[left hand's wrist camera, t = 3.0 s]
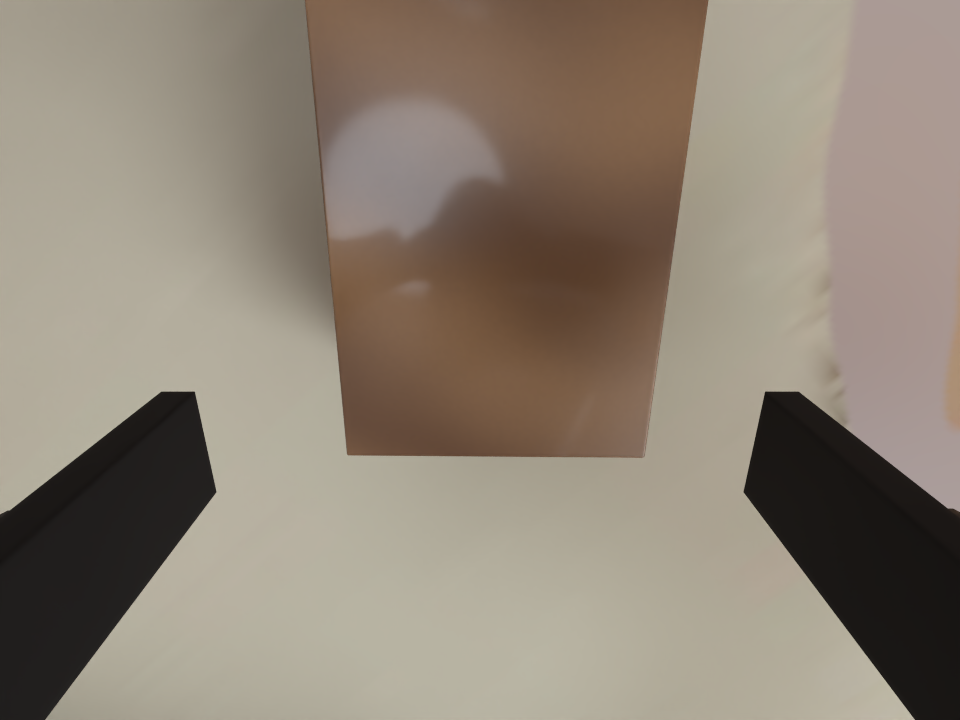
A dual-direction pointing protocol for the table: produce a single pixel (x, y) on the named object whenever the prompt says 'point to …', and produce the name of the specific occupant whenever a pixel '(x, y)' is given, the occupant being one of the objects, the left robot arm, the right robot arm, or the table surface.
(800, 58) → the table surface
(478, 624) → the table surface
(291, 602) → the table surface
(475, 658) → the table surface
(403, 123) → the wooden box
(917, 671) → the left robot arm
